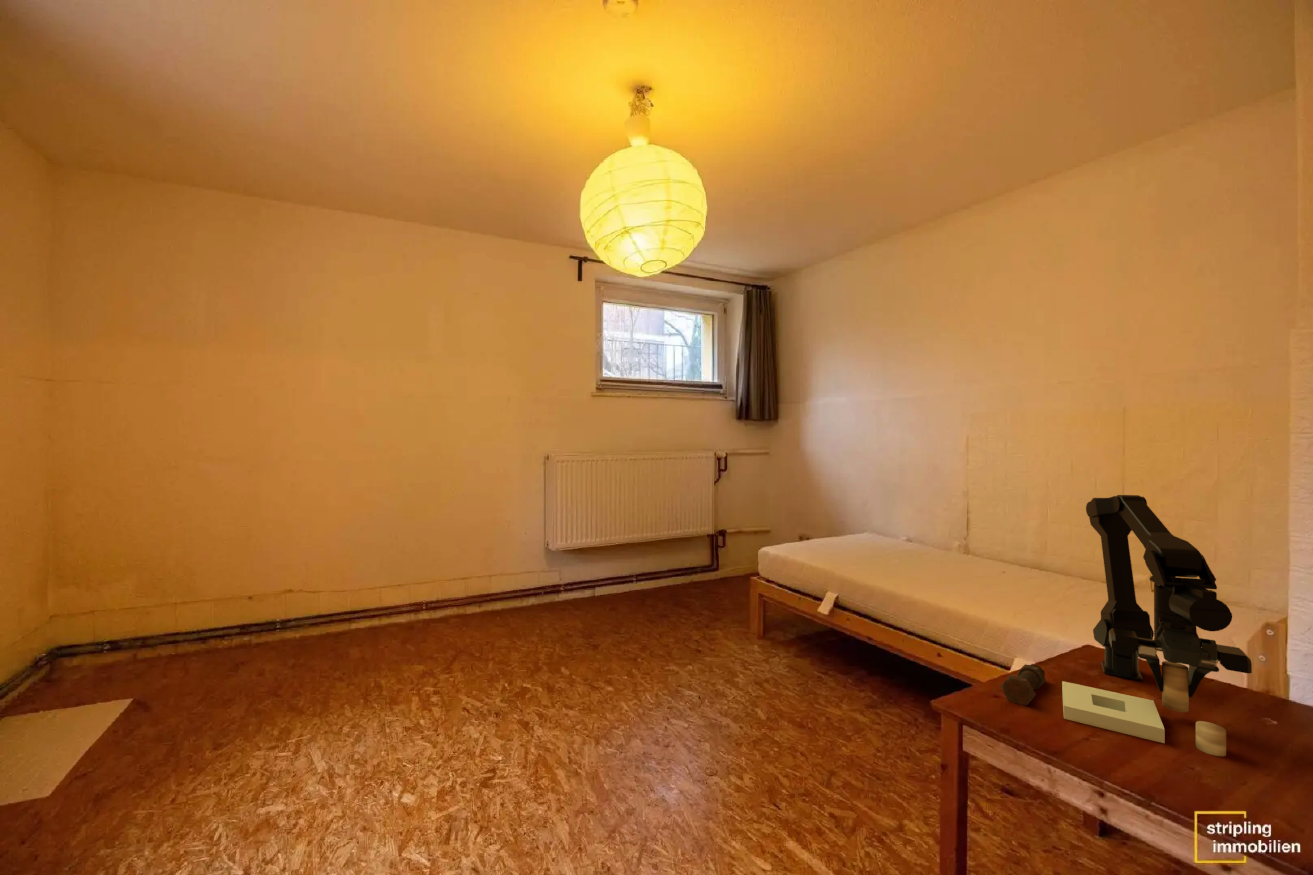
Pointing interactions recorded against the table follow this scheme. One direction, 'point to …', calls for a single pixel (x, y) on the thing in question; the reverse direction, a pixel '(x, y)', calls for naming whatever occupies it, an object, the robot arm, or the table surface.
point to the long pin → (1175, 686)
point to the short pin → (1211, 738)
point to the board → (1112, 711)
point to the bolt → (1023, 684)
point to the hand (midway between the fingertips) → (1175, 693)
